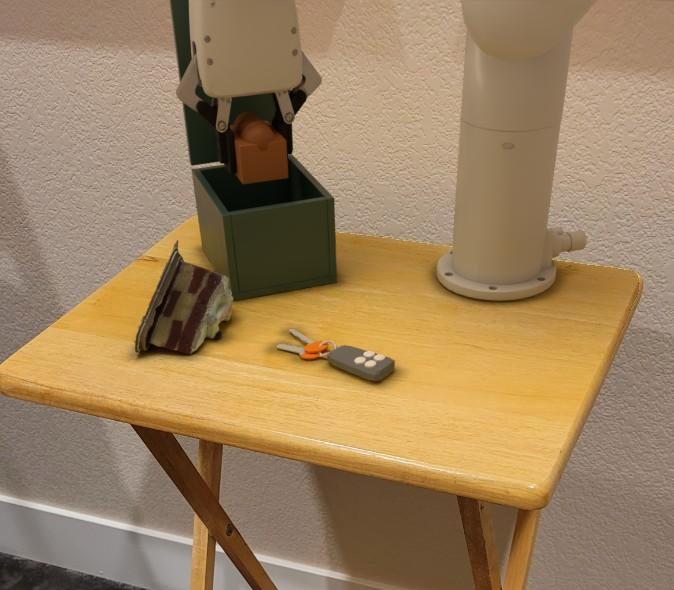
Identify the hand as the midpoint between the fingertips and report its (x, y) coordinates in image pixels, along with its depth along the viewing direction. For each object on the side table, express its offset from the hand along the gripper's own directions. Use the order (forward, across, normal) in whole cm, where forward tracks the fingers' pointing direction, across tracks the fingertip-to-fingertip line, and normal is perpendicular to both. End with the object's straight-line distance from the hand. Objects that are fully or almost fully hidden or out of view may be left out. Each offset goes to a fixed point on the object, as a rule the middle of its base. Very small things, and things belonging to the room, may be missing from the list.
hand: (256, 164), depth 91 cm
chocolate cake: (+11, +11, +13) cm, 20 cm away
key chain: (+11, 0, +23) cm, 25 cm away
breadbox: (+11, 0, 0) cm, 11 cm away
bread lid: (-6, 0, -6) cm, 9 cm away
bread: (+1, 0, 0) cm, 1 cm away
